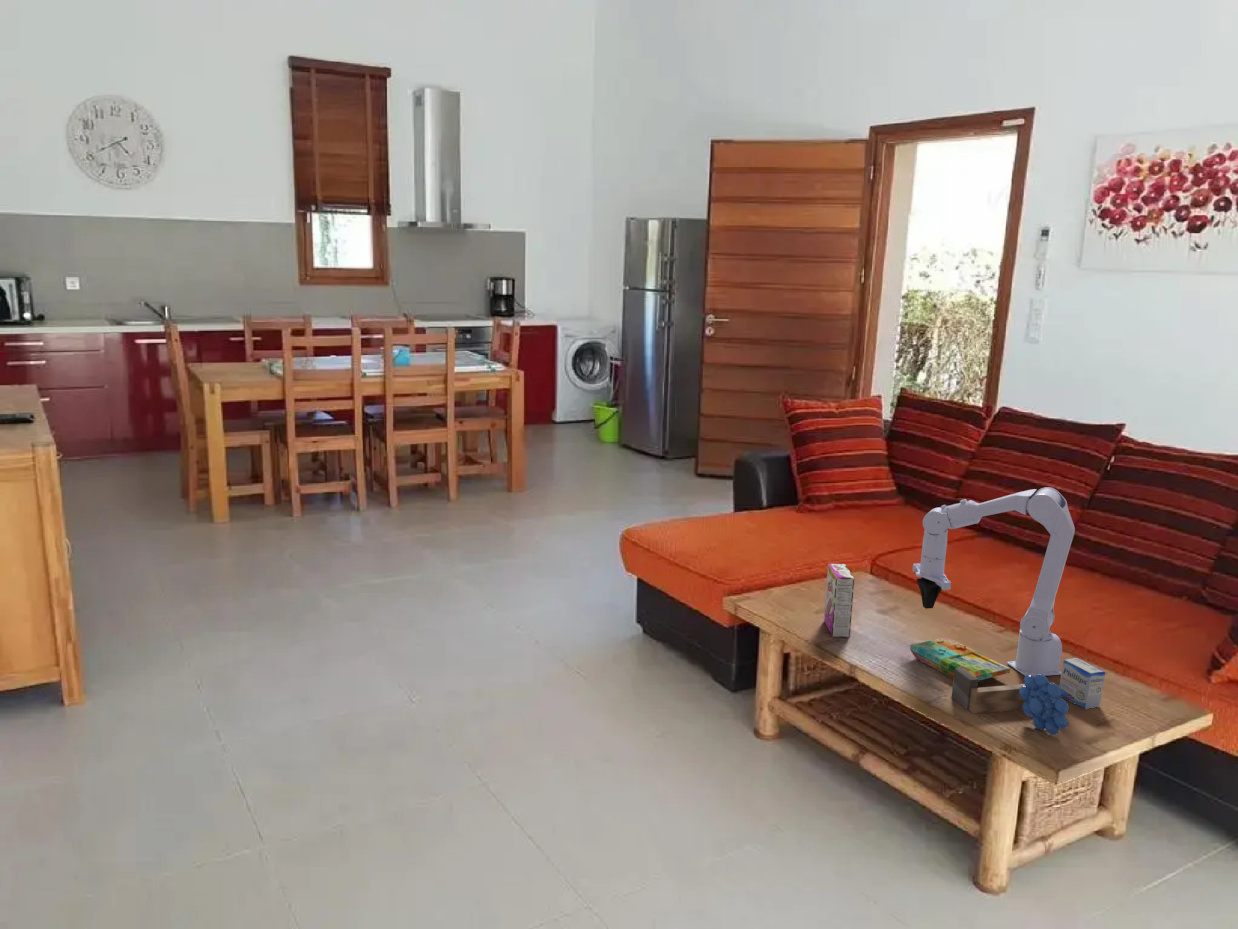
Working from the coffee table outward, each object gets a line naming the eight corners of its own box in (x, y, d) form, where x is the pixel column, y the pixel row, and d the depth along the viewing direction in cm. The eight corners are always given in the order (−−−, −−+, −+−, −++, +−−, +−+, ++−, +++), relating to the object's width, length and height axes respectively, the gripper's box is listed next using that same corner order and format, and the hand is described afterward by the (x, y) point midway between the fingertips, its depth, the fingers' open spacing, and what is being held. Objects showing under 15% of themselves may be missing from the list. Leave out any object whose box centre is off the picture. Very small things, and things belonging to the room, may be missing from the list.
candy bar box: (822, 621, 258) (827, 562, 254) (841, 621, 258) (846, 563, 254) (830, 637, 247) (835, 577, 244) (850, 638, 247) (855, 577, 244)
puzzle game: (946, 633, 240) (1011, 665, 223) (944, 651, 241) (1008, 683, 224) (910, 641, 235) (974, 673, 218) (909, 659, 236) (972, 693, 219)
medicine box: (1057, 695, 219) (1062, 659, 217) (1072, 692, 220) (1077, 656, 218) (1085, 710, 211) (1090, 673, 209) (1100, 707, 213) (1106, 671, 211)
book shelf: (1031, 690, 220) (1035, 662, 219) (1054, 706, 213) (1058, 677, 211) (951, 697, 216) (954, 668, 214) (971, 714, 208) (975, 684, 206)
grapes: (1002, 722, 205) (1009, 669, 202) (1023, 715, 208) (1030, 663, 206) (1050, 746, 195) (1058, 692, 192) (1072, 739, 198) (1079, 685, 196)
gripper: (904, 547, 245) (899, 598, 248) (934, 566, 231) (928, 619, 234) (929, 546, 247) (923, 596, 250) (960, 564, 233) (954, 617, 236)
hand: (927, 607), depth 242 cm, fingers closed
